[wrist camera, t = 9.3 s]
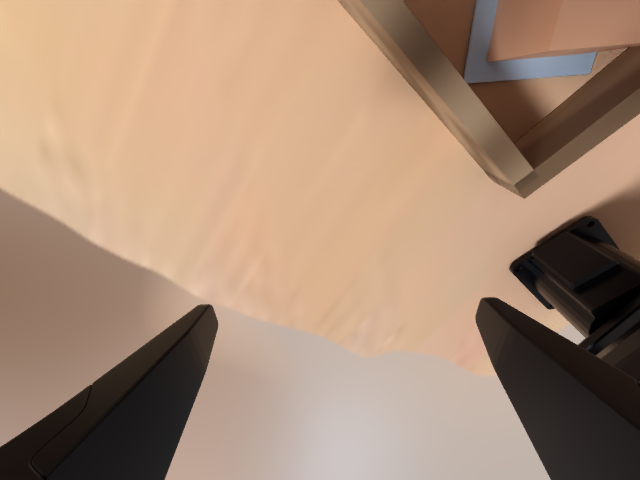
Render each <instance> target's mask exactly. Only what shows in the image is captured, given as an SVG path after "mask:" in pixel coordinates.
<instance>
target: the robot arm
mask: <svg viewBox="0 0 640 480" xmlns="http://www.w3.org/2000/svg"><path fill="white" fill-rule="evenodd" d="M517 268H518V269H517ZM509 270H510V271H511V272H512V273H513V274H514V275H515V276H516V277H517V278H518V279H519V280H520V281H521V282H522V283H523V285H524V286H525V287H526V288H527V289H528V290H529V291H530V292H531V293H532V294H533V295H534V296H535V297H536V298H537V299H538V300H539V301H540V302H541V303H542V304H543V305H544V306H545V307H546V308H547V309H554V308H555V309H556V310H557V311H558V312H559V313H560V314H561V315H562V316H564V317H565V318H566V319H567V320H568V321H569V322H570V323H571V324H572V325H573V326H574V327H575V328H576V329H577V330H578V331H579V332H580V333H581V334H582V335H583V336H584V337H585V339H584V340H583V341H582V342H581V343H579V344H578V345H576V344H575V343H573V342H571V341H570V340H568V339H566V338H564V337H563V336H561V335H559V334H558V333H556V332H554V331H553V330H551V329H549V328H547V327H546V326H544V325H542V324H541V323H539V322H537V321H536V320H534V319H532V318H530V317H529V316H527V315H525V314H524V313H522V312H520V311H518V310H517V309H515V308H513V307H512V306H510V305H508V304H507V303H505V302H503V301H501V300H500V299H498V298H495V297H484V298H482V299H481V300H480V303H479V306H478V310H477V313H476V324H477V326H478V329H479V332H480V334H481V337H482V339H483V342H484V344H485V347H486V350H487V352H488V355H489V357H490V360H491V362H492V365H493V367H494V369H495V371H496V373H497V375H498V377H499V379H500V381H501V383H502V385H503V387H504V389H505V391H506V393H507V395H508V397H509V399H510V401H511V403H512V404H513V407H514V408H515V411H516V412H517V414H518V416H519V418H520V420H521V422H522V424H523V426H524V428H525V430H526V432H527V434H528V436H529V438H530V440H531V442H532V444H533V446H534V448H535V450H536V451H537V453H538V455H539V457H540V459H541V461H542V463H543V465H544V467H545V469H546V471H547V473H548V475H549V477H550V479H551V480H640V261H638V260H636V259H635V258H633V257H631V256H629V255H627V254H626V253H624V252H622V251H620V250H619V248H618V247H617V246H616V244H615V243H614V241H613V240H612V239H611V237H610V236H609V235H608V233H607V232H606V230H605V229H604V228H603V226H602V225H601V224H600V222H599V221H598V220H597V219H596V218H594V217H592V216H586V217H584V218H582V219H581V220H579V221H577V222H576V223H574V224H573V225H571V226H570V227H568V228H567V229H565V230H564V231H562V232H561V233H559V234H557V235H556V236H554V237H553V238H551V239H550V240H548V241H547V242H545V243H544V244H542V245H541V246H539V247H538V248H536V249H534V250H533V251H531V252H530V253H528V254H527V255H525V256H524V257H522V258H521V259H519V260H518V261H516V262H515V263H513V264H512V265H511V266H510V267H509ZM217 329H218V320H217V317H216V315H215V312H214V309H213V306H212V305H210V304H206V305H198V306H197V307H195V308H194V309H193V310H191V311H190V312H189V313H187V314H186V315H185V316H183V317H182V318H180V319H179V320H178V321H176V322H175V323H173V324H172V325H171V326H169V327H168V328H167V329H165V330H164V331H163V332H161V333H160V334H159V335H157V336H156V337H154V338H153V339H152V340H150V341H149V342H148V343H146V344H145V345H144V346H142V347H141V348H140V349H138V350H137V351H136V352H134V353H133V354H131V355H130V356H129V357H127V358H126V359H125V360H123V361H122V362H121V363H119V364H118V365H117V366H115V367H114V368H112V369H111V370H110V371H108V372H107V373H106V374H104V375H103V376H102V377H100V378H99V379H98V380H96V381H95V382H94V383H93V384H92V385H89V386H88V387H86V388H85V389H84V390H83V391H81V392H80V393H78V394H77V395H76V396H74V397H73V398H71V399H70V400H69V401H67V402H66V403H64V404H63V405H62V406H60V407H59V408H58V409H56V410H55V411H53V412H52V413H50V414H49V415H47V416H46V417H44V418H43V419H42V420H40V421H39V422H37V423H36V424H34V425H33V426H31V427H30V428H28V429H27V430H25V431H24V432H22V433H21V434H19V435H18V436H16V437H15V438H13V439H12V440H10V441H9V442H7V443H6V444H4V445H3V446H1V447H0V480H165V477H166V474H167V472H168V469H169V467H170V464H171V461H172V458H173V456H174V453H175V451H176V448H177V446H178V443H179V441H180V438H181V435H182V433H183V430H184V428H185V425H186V422H187V420H188V417H189V415H190V412H191V409H192V407H193V404H194V401H195V399H196V396H197V394H198V391H199V388H200V386H201V383H202V380H203V378H204V375H205V372H206V369H207V366H208V363H209V359H210V355H211V351H212V348H213V344H214V340H215V337H216V333H217Z"/></svg>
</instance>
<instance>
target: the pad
mask: <svg viewBox="0 0 640 480" xmlns="http://www.w3.org/2000/svg"><path fill="white" fill-rule="evenodd" d="M497 4H498V0H476V3H475V9H474V15H473V21H472V27H471V33H470V39H469V45H468V51H467V58H466V64H465V70H464V76H463V79H464V80H465V82H466V83H480V82H493V81H506V80H519V79H532V78H545V77H558V76H571V75H584V74H590V71H591V68H592V66H593V63H594V60H595V57H596V54H597V52H592V53H585V54H578V55H566V56H554V57H543V58H531V59H519V60H507V61H495V62H486V60H487V55H488V50H489V45H490V40H491V35H492V29H493V24H494V19H495V14H496V9H497Z"/></svg>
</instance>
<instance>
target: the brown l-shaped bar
mask: <svg viewBox="0 0 640 480" xmlns="http://www.w3.org/2000/svg"><path fill="white" fill-rule="evenodd" d="M338 1H339V2H340V3H341V5H342V6H343V7H344V8H345V9H346V10H347V12H348V13H349V14H350V15H351V16H352V17H353V19H354V20H355V21H356V22H357V23H358V24H359V26H360V27H361V28H362V29H363V30H364V31H365V33H366V34H367V35H368V36H369V37H370V38H371V40H372V41H373V42H374V43H375V44H376V45H377V47H378V48H379V49H380V50H381V51H382V52H383V54H384V55H385V56H386V57H387V58H388V59H389V61H390V62H391V63H392V64H393V65H394V66H395V68H396V69H397V70H398V71H399V72H400V73H401V75H402V76H403V77H404V78H405V79H406V80H407V82H408V83H409V84H410V85H411V86H412V87H413V89H414V90H415V91H416V92H417V93H418V94H419V96H420V97H421V98H422V99H423V100H424V101H425V103H426V104H427V105H428V106H429V107H430V108H431V110H432V111H433V112H434V113H435V114H436V115H437V117H438V118H439V119H440V120H441V121H442V122H443V124H444V125H445V126H446V127H447V128H448V129H449V131H450V132H451V133H452V134H453V135H454V136H455V138H456V139H457V140H458V141H459V142H460V143H461V145H462V146H463V147H464V148H465V149H466V150H467V152H468V153H469V154H470V155H471V156H472V157H473V159H474V160H475V161H476V162H477V163H478V164H479V166H480V167H481V168H482V169H483V170H484V171H485V173H486V174H487V175H488V176H489V177H490V178H491V180H492V181H494V182H495V183H497V184H499V185H501V186H503V187H504V188H506V189H508V190H510V191H512V192H513V193H515V194H517V195H519V196H520V197H522V198H524V199H525V198H526V197H527V196H529V195H530V194H531V193H533V192H534V191H536V190H537V189H538V188H540V187H541V186H542V185H544V184H545V183H546V182H548V181H549V180H550V179H552V178H553V177H554V176H556V175H557V174H559V173H560V172H561V171H563V170H564V169H565V168H567V167H568V166H569V165H571V164H572V163H573V162H575V161H576V160H577V159H579V158H580V157H582V156H583V155H584V154H586V153H587V152H588V151H590V150H591V149H592V148H594V147H595V146H596V145H598V144H599V143H600V142H602V141H603V140H605V139H606V138H607V137H609V136H610V135H611V134H613V133H614V132H615V131H617V130H618V129H619V128H621V127H622V126H623V125H625V124H626V123H627V122H629V121H630V120H632V119H633V118H634V117H636V116H637V115H638V114H640V46H633V47H629V48H628V49H627V50H625V51H624V52H623V53H622V54H621V55H620V56H618V57H617V58H616V59H615V60H614V61H612V62H611V63H610V64H609V65H608V66H606V67H605V68H604V69H603V70H602V71H600V72H599V73H598V74H597V75H596V76H594V77H593V78H592V79H591V80H590V81H588V82H587V83H586V84H585V85H584V86H582V87H581V88H580V89H579V90H578V91H576V92H575V93H574V94H573V95H572V96H570V97H569V98H568V99H567V100H566V101H565V102H563V103H562V104H561V105H560V106H559V107H557V108H556V109H555V110H554V111H553V112H551V113H550V114H549V115H548V116H547V117H545V118H544V119H543V120H542V121H541V122H539V123H538V124H537V125H536V126H535V127H533V128H532V129H531V130H530V131H529V132H527V133H526V134H525V135H524V136H523V137H521V138H520V139H519V140H518V141H517V142H516V143H514V144H513V142H512V141H511V140H510V138H509V137H508V136H507V135H506V133H505V132H504V131H503V129H502V128H501V127H500V126H499V124H498V123H497V122H496V120H495V119H494V118H493V116H492V115H491V114H490V113H489V111H488V110H487V109H486V107H485V106H484V105H483V104H482V102H481V101H480V100H479V98H478V97H477V96H476V94H475V93H474V92H473V91H472V89H471V88H470V87H469V85H468V84H467V83H466V82H465V80H464V79H463V78H462V76H461V75H460V74H459V72H458V71H457V70H456V69H455V67H454V66H453V65H452V63H451V62H450V61H449V60H448V58H447V57H446V56H445V54H444V53H443V52H442V50H441V49H440V48H439V47H438V45H437V44H436V43H435V41H434V40H433V39H432V38H431V36H430V35H429V34H428V32H427V31H426V30H425V28H424V27H423V26H422V25H421V23H420V22H419V21H418V19H417V18H416V17H415V16H414V14H413V13H412V12H411V10H410V9H409V8H408V6H407V5H406V4H405V3H404V1H403V0H338Z"/></svg>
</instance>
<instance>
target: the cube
mask: <svg viewBox="0 0 640 480" xmlns="http://www.w3.org/2000/svg"><path fill="white" fill-rule="evenodd" d="M633 46H640V0H498V4H497V9H496V14H495V19H494V24H493V29H492V35H491V40H490V45H489V50H488V55H487V60H486V62H495V61H507V60H519V59H531V58H543V57H554V56H566V55H578V54H585V53H592V52H599V51H606V50H613V49H620V48H627V47H633Z"/></svg>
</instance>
